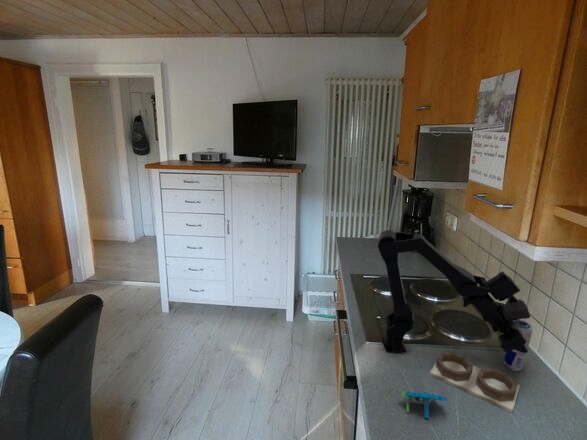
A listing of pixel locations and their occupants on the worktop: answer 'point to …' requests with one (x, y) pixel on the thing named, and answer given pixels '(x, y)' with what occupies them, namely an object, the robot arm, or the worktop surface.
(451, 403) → the worktop surface
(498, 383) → the socket plate
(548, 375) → the worktop surface
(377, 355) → the worktop surface
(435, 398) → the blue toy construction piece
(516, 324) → the beverage can
